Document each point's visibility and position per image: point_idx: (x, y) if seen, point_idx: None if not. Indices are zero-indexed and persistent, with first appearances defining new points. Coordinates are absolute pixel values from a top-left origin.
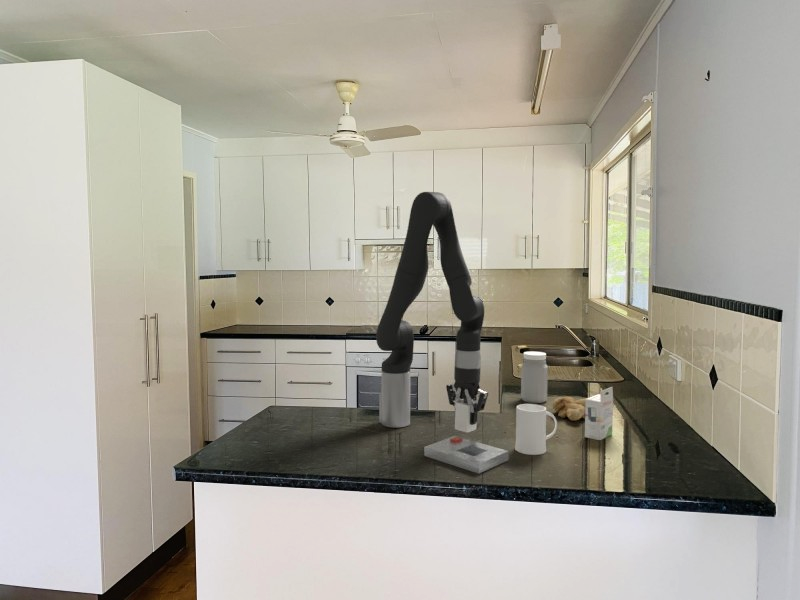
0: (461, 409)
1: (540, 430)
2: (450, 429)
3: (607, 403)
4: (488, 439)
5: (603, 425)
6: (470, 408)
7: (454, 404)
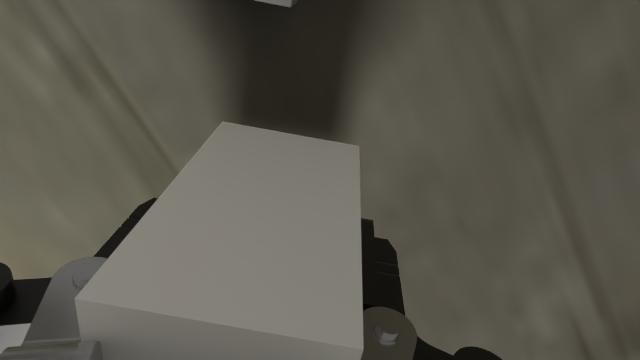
0: (245, 257)
1: None
2: (469, 274)
3: None
4: None
5: None
6: None
7: (411, 351)
